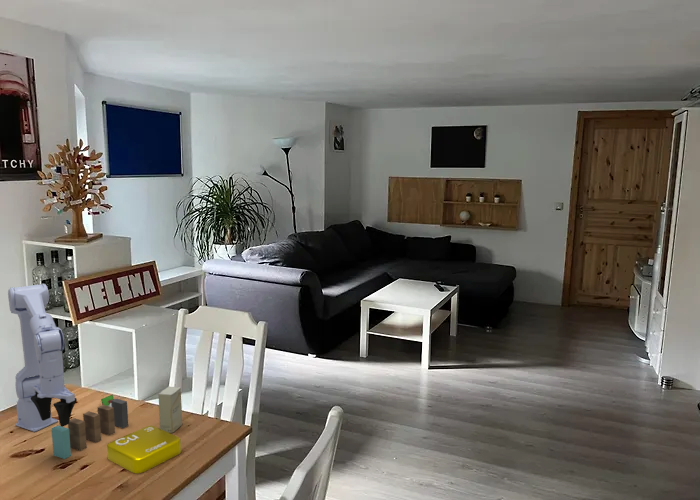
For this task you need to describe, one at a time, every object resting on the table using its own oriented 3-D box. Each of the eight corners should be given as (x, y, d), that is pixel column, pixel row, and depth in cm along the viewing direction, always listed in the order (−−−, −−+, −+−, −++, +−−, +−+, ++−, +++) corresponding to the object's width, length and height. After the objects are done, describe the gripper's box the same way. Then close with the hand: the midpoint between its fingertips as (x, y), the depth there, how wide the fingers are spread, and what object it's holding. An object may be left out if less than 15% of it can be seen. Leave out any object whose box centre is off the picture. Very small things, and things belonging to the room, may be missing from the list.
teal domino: (53, 455, 156) (51, 428, 154) (60, 452, 157) (57, 425, 156) (64, 459, 154) (62, 431, 152) (70, 455, 156) (68, 428, 154)
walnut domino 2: (84, 439, 165) (83, 413, 163) (90, 436, 166) (88, 411, 165) (95, 443, 163) (93, 417, 161) (101, 440, 164) (99, 414, 163)
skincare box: (172, 433, 169) (171, 395, 167) (159, 432, 170) (157, 393, 168) (183, 424, 175) (181, 387, 173) (170, 422, 176) (168, 385, 174)
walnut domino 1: (69, 447, 160) (67, 420, 159) (75, 444, 162) (73, 417, 161) (80, 450, 158) (78, 424, 157) (86, 447, 160) (84, 421, 159)
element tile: (137, 476, 146) (136, 459, 146) (104, 459, 155) (103, 442, 154) (184, 452, 158) (183, 436, 158) (151, 437, 167) (150, 422, 166)
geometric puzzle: (89, 410, 179) (98, 394, 175) (108, 402, 185) (117, 386, 181) (102, 427, 177) (111, 411, 173) (120, 418, 183) (129, 403, 179)
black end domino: (112, 425, 173) (111, 400, 172) (117, 422, 175) (116, 398, 174) (123, 428, 172) (121, 403, 170) (128, 425, 173) (127, 401, 172)
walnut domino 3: (99, 432, 169) (97, 407, 168) (104, 429, 171) (103, 404, 170) (109, 435, 167) (108, 410, 166) (115, 432, 169) (113, 407, 168)
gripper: (19, 374, 150) (24, 422, 152) (56, 384, 144) (60, 434, 146) (44, 366, 157) (47, 412, 159) (80, 375, 150) (83, 422, 152)
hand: (55, 422), depth 153 cm, fingers open, 7 cm apart
